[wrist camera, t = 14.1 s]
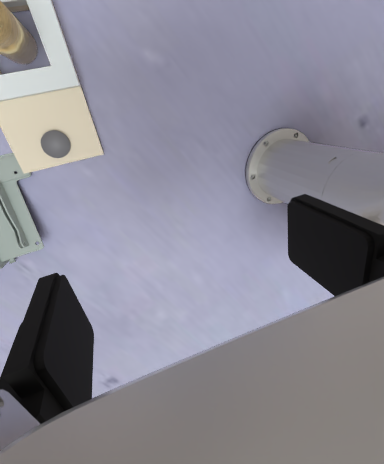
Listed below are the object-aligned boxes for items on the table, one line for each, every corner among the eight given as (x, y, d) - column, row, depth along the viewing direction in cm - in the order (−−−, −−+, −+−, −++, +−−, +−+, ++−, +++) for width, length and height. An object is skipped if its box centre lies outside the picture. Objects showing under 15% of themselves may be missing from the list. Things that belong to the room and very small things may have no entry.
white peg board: (-123, -132, 22) (-162, -175, 19) (5, -136, 24) (-10, -176, 20) (26, 171, 34) (18, 177, 31) (103, 152, 36) (103, 157, 32)
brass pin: (28, 22, 28) (-14, -29, 18) (43, 61, 30) (12, 34, 20) (-8, 27, 28) (-73, -23, 17) (9, 67, 29) (-41, 42, 19)
